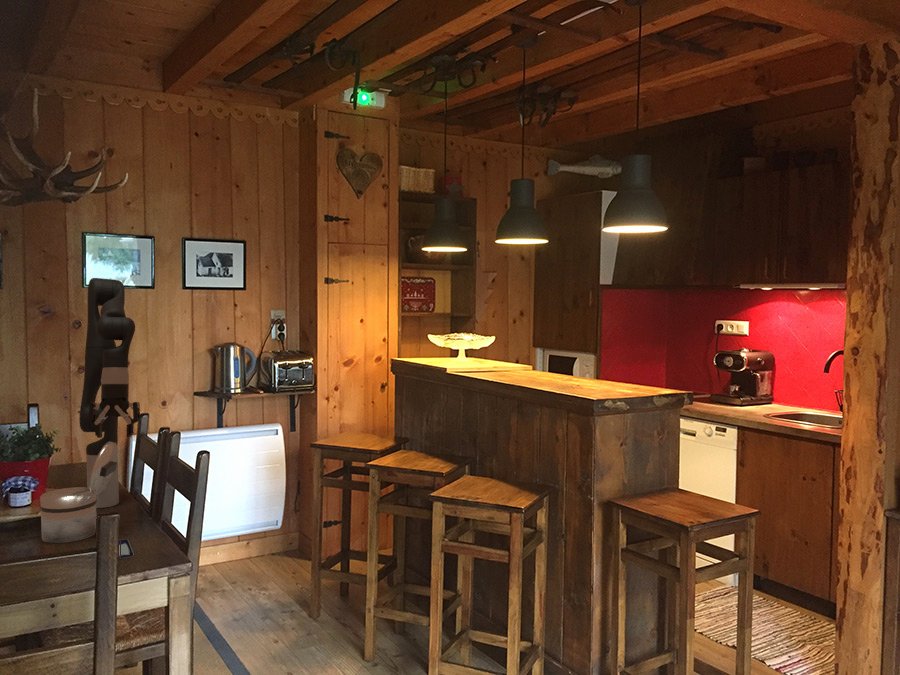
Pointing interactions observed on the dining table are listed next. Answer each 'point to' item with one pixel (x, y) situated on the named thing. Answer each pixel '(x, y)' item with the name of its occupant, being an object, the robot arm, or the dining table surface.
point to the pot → (68, 514)
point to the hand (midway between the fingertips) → (114, 437)
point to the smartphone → (125, 549)
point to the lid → (103, 467)
